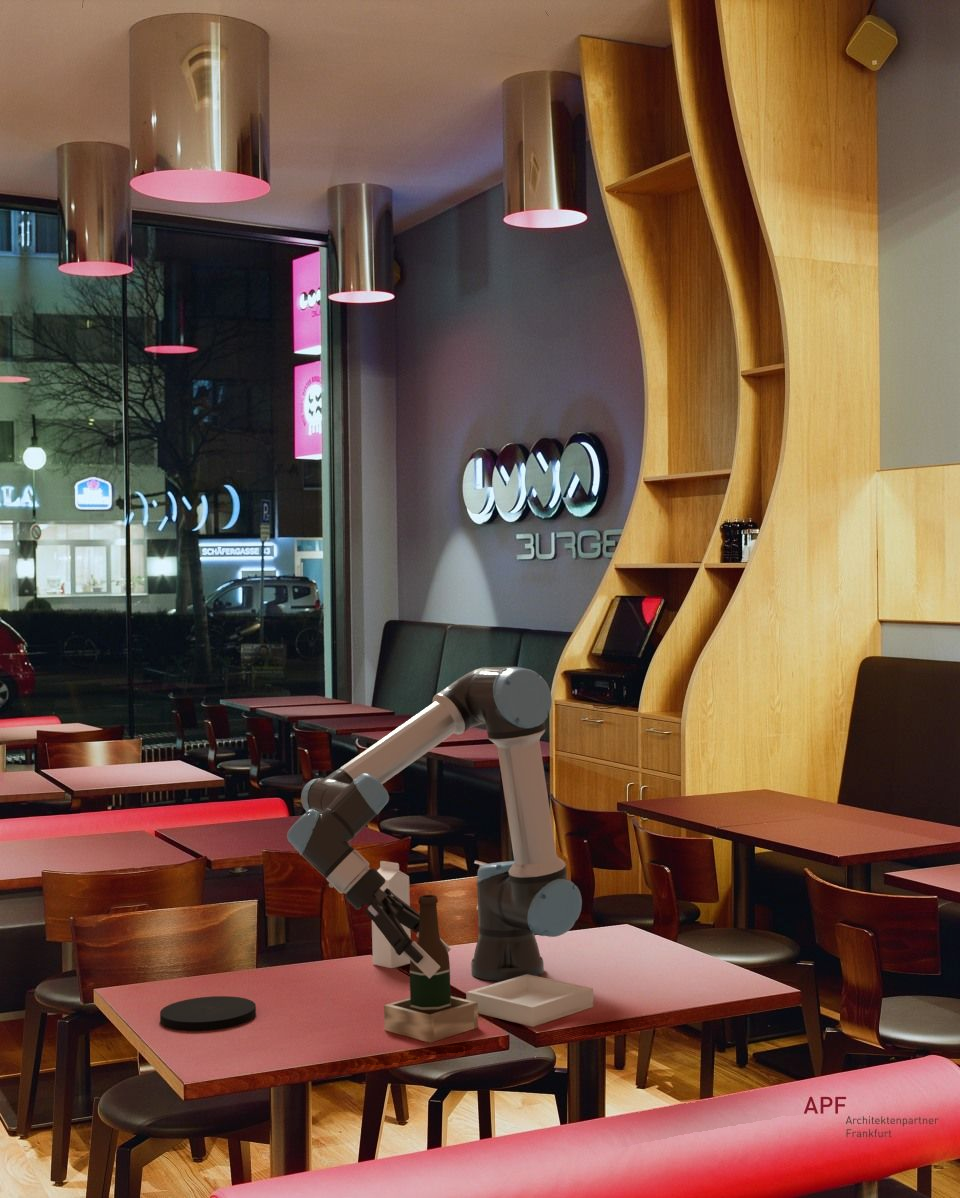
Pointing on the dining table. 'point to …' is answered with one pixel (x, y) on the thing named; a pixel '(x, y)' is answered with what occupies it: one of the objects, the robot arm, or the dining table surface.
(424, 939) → the beer bottle
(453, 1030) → the box
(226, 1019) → the wireless charger
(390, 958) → the milk
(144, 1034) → the dining table surface
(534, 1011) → the tray
